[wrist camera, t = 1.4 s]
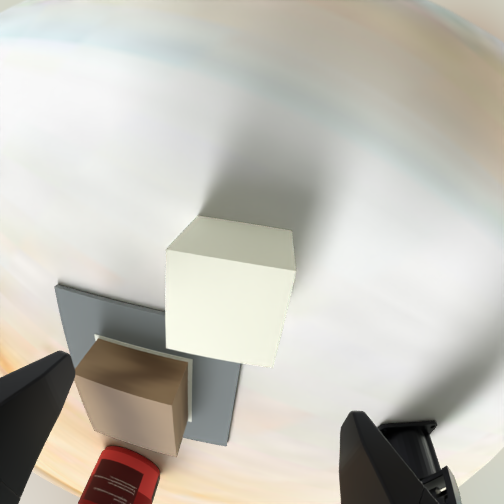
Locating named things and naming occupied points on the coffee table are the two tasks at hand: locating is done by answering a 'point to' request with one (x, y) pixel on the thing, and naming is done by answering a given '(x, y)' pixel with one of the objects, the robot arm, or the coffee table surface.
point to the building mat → (152, 341)
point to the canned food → (121, 479)
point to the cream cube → (228, 290)
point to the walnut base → (134, 396)
